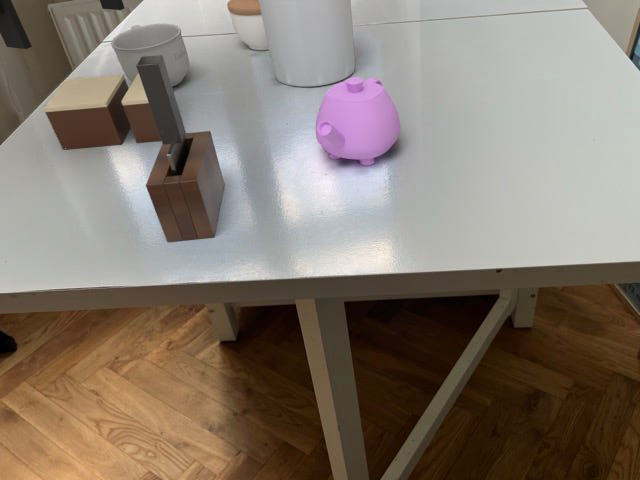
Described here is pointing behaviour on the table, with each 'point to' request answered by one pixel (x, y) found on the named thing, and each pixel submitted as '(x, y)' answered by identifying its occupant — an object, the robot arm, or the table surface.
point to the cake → (89, 112)
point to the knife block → (188, 190)
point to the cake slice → (140, 113)
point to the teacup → (152, 49)
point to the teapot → (357, 120)
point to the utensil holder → (309, 40)
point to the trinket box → (248, 23)
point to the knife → (164, 110)
